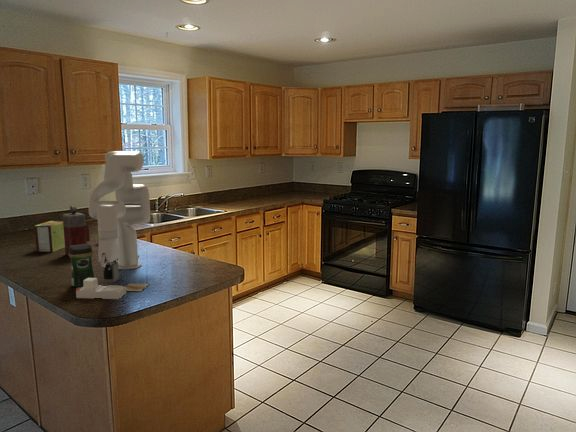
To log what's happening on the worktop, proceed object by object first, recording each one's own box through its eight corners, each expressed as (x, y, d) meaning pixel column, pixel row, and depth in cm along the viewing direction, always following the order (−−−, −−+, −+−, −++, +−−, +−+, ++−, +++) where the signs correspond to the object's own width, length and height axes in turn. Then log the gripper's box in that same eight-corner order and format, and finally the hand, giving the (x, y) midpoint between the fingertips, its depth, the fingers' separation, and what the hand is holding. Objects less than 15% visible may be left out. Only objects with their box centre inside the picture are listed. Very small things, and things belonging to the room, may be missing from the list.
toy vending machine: (91, 254, 251) (88, 205, 246) (71, 257, 243) (67, 207, 238) (85, 251, 257) (82, 203, 252) (65, 254, 249) (61, 205, 244)
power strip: (75, 297, 181) (74, 281, 180) (84, 292, 188) (83, 276, 187) (119, 299, 180) (118, 282, 179) (126, 293, 187) (125, 277, 186)
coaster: (129, 284, 198) (129, 283, 198) (148, 285, 197) (148, 284, 197) (120, 291, 189) (120, 290, 189) (140, 292, 189) (140, 290, 189)
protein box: (68, 246, 269) (66, 221, 266) (52, 252, 254) (50, 225, 251) (52, 245, 270) (50, 220, 267) (35, 251, 255) (33, 225, 252)
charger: (103, 281, 181) (102, 264, 180) (108, 277, 186) (107, 261, 184) (114, 281, 181) (113, 264, 179) (119, 278, 185) (118, 261, 184)
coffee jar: (93, 280, 204) (90, 241, 201) (96, 285, 197) (93, 244, 194) (70, 284, 198) (67, 244, 195) (72, 289, 192) (69, 247, 189)
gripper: (109, 229, 188) (111, 270, 191) (89, 238, 171) (92, 283, 175) (126, 230, 188) (128, 271, 191) (108, 239, 171) (110, 284, 174)
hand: (111, 276), depth 183 cm, fingers closed on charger, 4 cm apart
